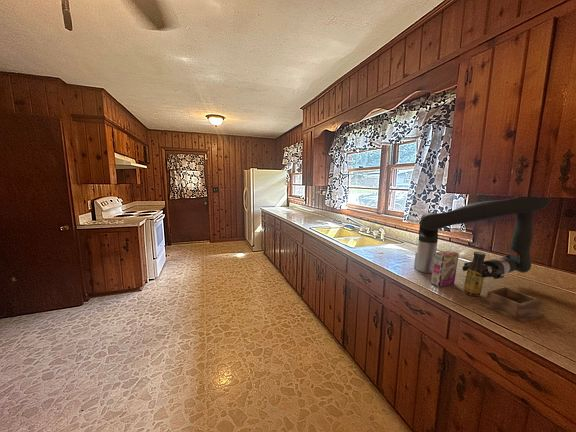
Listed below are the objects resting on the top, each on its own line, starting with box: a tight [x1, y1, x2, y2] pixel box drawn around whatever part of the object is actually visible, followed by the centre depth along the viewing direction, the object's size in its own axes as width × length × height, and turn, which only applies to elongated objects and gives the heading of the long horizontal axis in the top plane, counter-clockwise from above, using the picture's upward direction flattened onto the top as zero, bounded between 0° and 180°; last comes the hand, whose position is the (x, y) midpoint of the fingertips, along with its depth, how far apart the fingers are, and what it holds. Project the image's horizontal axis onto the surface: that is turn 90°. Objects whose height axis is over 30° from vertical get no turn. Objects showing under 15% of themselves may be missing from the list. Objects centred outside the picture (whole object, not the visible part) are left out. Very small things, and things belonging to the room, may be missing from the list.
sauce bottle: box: [463, 251, 487, 297], centre depth 108 cm, size 6×6×20 cm
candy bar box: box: [430, 250, 460, 288], centre depth 118 cm, size 11×5×16 cm, turn 111°
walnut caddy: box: [480, 286, 544, 324], centre depth 96 cm, size 14×14×6 cm
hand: (472, 271), depth 107 cm, fingers open, 7 cm apart
